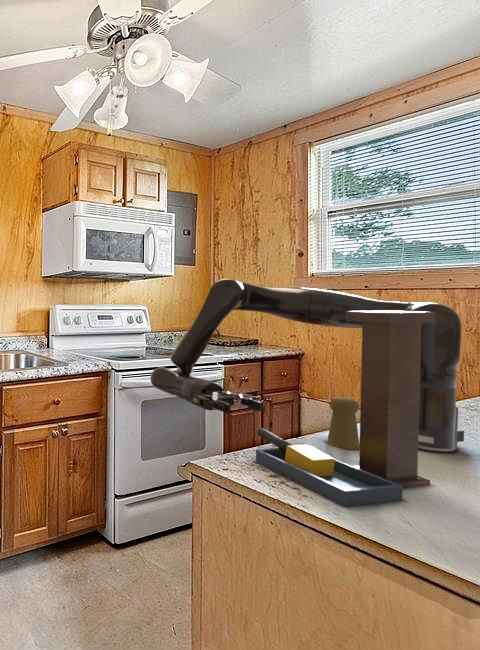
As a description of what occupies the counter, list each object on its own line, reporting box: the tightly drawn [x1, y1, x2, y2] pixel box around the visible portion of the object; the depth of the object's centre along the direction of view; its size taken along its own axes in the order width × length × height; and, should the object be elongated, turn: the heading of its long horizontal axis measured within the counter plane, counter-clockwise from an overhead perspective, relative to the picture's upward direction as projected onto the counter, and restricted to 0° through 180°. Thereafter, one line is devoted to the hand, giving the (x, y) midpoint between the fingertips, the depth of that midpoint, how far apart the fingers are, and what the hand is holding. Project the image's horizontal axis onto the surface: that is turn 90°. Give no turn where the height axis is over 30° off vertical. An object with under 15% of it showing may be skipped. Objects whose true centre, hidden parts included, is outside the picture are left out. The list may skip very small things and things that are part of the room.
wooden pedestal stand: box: [346, 311, 435, 489], centre depth 81 cm, size 10×8×32 cm
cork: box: [326, 396, 360, 450], centre depth 100 cm, size 6×6×11 cm
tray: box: [255, 447, 404, 507], centre depth 81 cm, size 12×20×2 cm, turn 10°
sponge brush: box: [256, 427, 336, 477], centre depth 88 cm, size 5×16×4 cm, turn 9°
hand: (245, 408), depth 100 cm, fingers open, 8 cm apart
